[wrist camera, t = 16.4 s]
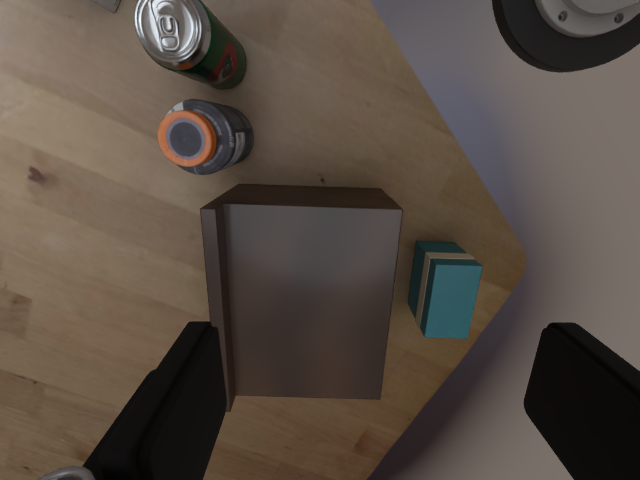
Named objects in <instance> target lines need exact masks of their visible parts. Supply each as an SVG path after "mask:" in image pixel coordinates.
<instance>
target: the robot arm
mask: <svg viewBox="0 0 640 480" xmlns="http://www.w3.org/2000/svg"><path fill="white" fill-rule="evenodd" d="M535 4H536V7H537V9H538V11H539V13H540V15H541V16H542V18H543V19H544V20H545V21H546V22H547V24H548V25H549V26H551V27H552V28H553V29H555V30H556V31H557V32H559V33H562V34H564V35H567V36H571V37H577V38H584V37H593V36H597V35H600V34H604V33H606V32H609V31H611V30H614V29H617V28H618V27H620V26H622V25H624V24H625V23H627V22H629V21H630V20H631V19H632V18H634V17H635V16H636V15H637V14H639V13H640V0H535ZM558 18H559V19H558ZM226 407H227V396H226V388H225V380H224V372H223V363H222V355H221V347H220V339H219V331H218V328H217V327H212V324H211V322H189V323H188V324H187V325H186V327H185V328H184V330H183V331H182V333H181V334H180V335H179V337H178V338H177V340H176V341H175V343H174V344H173V346H172V347H171V348H170V350H169V351H168V353H167V354H166V356H165V357H164V359H163V360H162V361H161V363H160V364H159V366H158V367H157V369H155V370H153V371H151V372H150V373H149V374H148V375H147V376H146V378H145V379H144V380H143V382H142V383H141V385H140V386H139V387H138V389H137V390H136V392H135V393H134V394H133V396H132V397H131V399H130V400H129V401H128V403H127V404H126V406H125V407H124V409H123V410H122V411H121V413H120V414H119V416H118V417H117V418H116V420H115V421H114V423H113V424H112V425H111V427H110V428H109V430H108V431H107V432H106V434H105V435H104V437H103V438H102V439H101V441H100V442H99V444H98V445H97V446H96V448H95V449H94V451H93V452H92V453H91V455H90V456H89V458H88V459H87V460H86V462H85V463H84V465H83V466H82V467H80V466H69V467H64V468H59V469H57V470H54V471H52V472H50V473H47V474H45V475H43V476H41V477H40V478H38V479H36V480H203V477H204V474H205V471H206V468H207V465H208V462H209V460H210V457H211V454H212V451H213V448H214V445H215V442H216V439H217V436H218V433H219V430H220V427H221V424H222V421H223V418H224V416H225V412H226ZM524 408H525V411H526V413H527V415H528V416H529V418H530V419H531V421H532V422H533V423H534V425H535V426H536V428H537V429H538V430H539V432H540V433H541V434H542V436H543V437H544V439H545V440H546V441H547V442H548V444H549V445H550V447H551V448H552V450H553V451H554V453H555V454H556V455H557V457H558V458H559V460H560V461H561V462H562V463H563V465H564V466H565V468H566V469H567V471H568V472H569V473H570V475H571V476H572V478H573V479H574V480H640V371H638V370H637V369H636V368H634V367H633V366H632V365H631V364H629V363H628V362H627V361H625V360H624V359H623V358H621V357H620V356H619V355H617V354H616V353H615V352H613V351H612V350H611V349H610V348H608V347H607V346H605V345H604V344H603V343H602V342H600V341H599V340H598V339H596V338H595V337H594V336H592V335H591V334H590V333H588V332H587V331H586V330H585V329H583V328H582V327H581V326H579V325H578V324H576V323H550V324H549V325H548V326H547V328H544V329H543V331H542V333H541V337H540V341H539V345H538V348H537V352H536V356H535V360H534V364H533V368H532V371H531V375H530V379H529V383H528V386H527V390H526V394H525V398H524Z"/></svg>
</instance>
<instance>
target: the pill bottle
mask: <svg viewBox="0 0 640 480" xmlns="http://www.w3.org/2000/svg"><path fill="white" fill-rule="evenodd" d="M158 142H159V145H160V148H161V150H162V151H163V153H164V154H165V155H166V157H167V158H168V159H170V160H171V161H172V162H174V163H175V164H177V165H178V166H179V167H181V168H182V169H184V170H185V171H188V172H190V173H193V174H200V175H206V174H212V173H215V172H217V171H220V170H222V169H224V168H227V167H229V166H232V165H234V164H236V163H239V162H241V161H242V160H244V159H245V158H246V157H247V155H248V154H249V153H250V151H251V149H252V145H253V131H252V127H251V125H250V123H249V121H248V119H247V118H246V117H245V116H244V115H243V114H242V113H241V112H240V111H238V110H237V109H235V108H232V107H230V106H226V105H221V104H217V103H212V102H207V101H203V100H197V99H190V100H185V101H182V102H180V103H178V104H176V105H175V106H174V107H172V108H171V109H170V111H169V112H168V113H167V115H166V116H165V117H164V118H163V119H162V121H161V123H160V125H159V128H158Z"/></svg>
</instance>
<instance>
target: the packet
mask: <svg viewBox="0 0 640 480" xmlns="http://www.w3.org/2000/svg"><path fill="white" fill-rule="evenodd" d="M482 267H483V266H482V265H481V264H480V263H478V262H477V261H476V260H475V258H474V257H472V256H471V255H470V254H468V253H466V252H465V251H464V250H463V249H462V248H460V247H459V246H458V245H457V244H456V243H452V242H420V241H417V242H416V247H415V254H414V262H413V269H412V276H411V284H410V291H409V298H408V305H409V307H410V309H411V311H412V313H413V315H414V317H415V319H416V320H415V321H416V323H417V325H418V327H419V328H420V329H421V331H422V333H423V335H424V337H429V338H464V339H467V338H468V333H469V328H470V324H471V319H472V314H473V310H474V305H475V300H476V296H477V291H478V286H479V282H480V277H481V272H482Z"/></svg>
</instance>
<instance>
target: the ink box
mask: <svg viewBox="0 0 640 480" xmlns="http://www.w3.org/2000/svg"><path fill="white" fill-rule="evenodd" d="M92 1H94V2H96V3H97V4H99V5H101V6H103V7H104V8H106V9H108V10H109V11H111V12H113V13H114V12H115V11H116V9H117V7H118V5H119V3H120V0H92Z"/></svg>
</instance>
